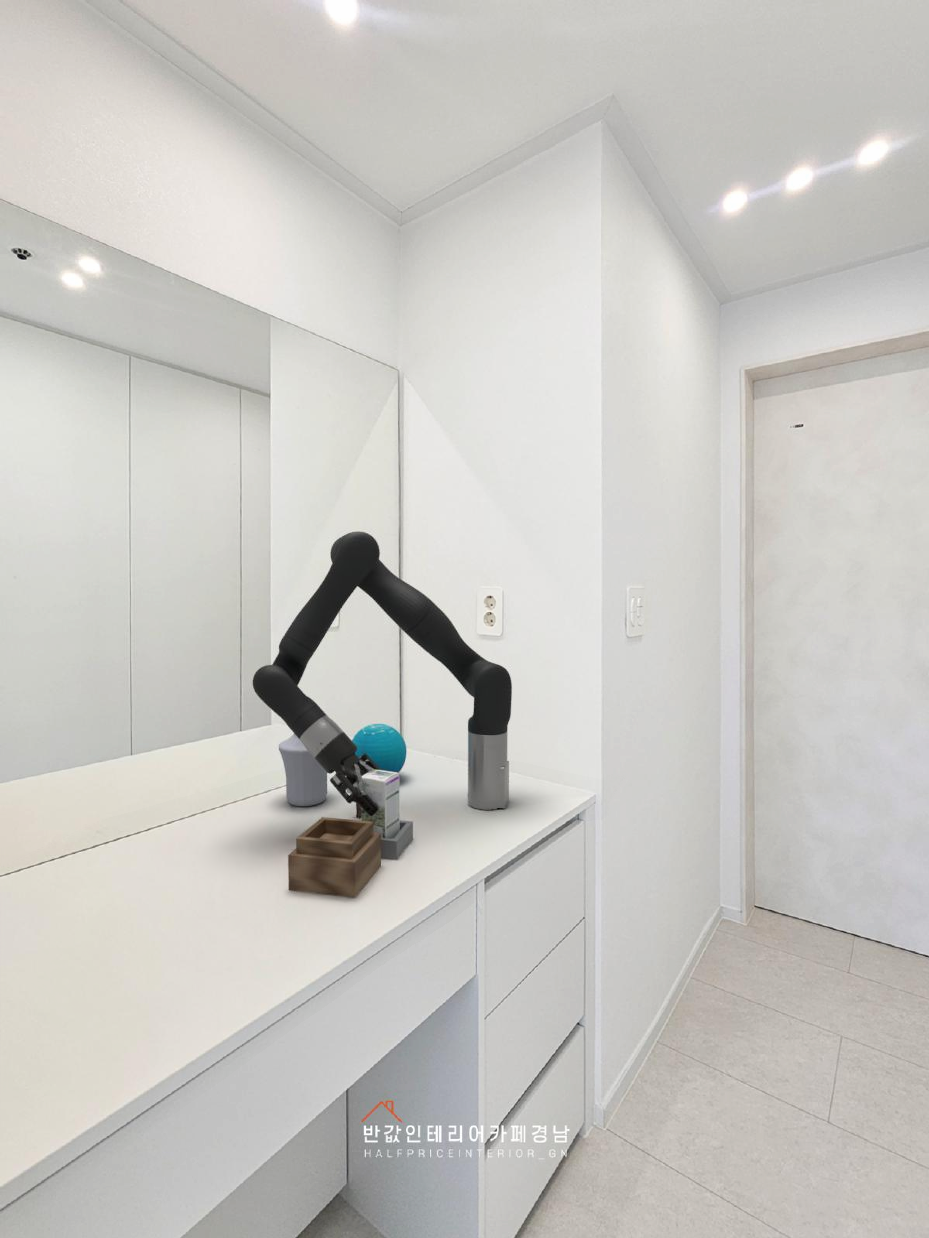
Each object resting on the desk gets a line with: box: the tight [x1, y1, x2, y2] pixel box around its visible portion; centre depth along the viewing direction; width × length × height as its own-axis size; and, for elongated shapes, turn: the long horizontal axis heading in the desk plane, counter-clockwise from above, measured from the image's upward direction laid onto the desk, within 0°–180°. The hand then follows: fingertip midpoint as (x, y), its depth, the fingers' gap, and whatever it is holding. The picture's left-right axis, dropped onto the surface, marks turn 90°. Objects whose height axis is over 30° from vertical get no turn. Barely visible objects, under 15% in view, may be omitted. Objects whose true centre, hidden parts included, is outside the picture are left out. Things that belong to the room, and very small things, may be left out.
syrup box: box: [360, 769, 401, 839], centre depth 123 cm, size 6×6×14 cm
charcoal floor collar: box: [381, 819, 414, 860], centre depth 123 cm, size 10×10×4 cm
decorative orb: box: [351, 723, 407, 774], centre depth 163 cm, size 15×15×15 cm
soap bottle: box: [278, 733, 328, 807], centre depth 148 cm, size 13×13×25 cm
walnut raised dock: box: [287, 816, 382, 899], centre depth 110 cm, size 12×12×8 cm
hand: (383, 804), depth 122 cm, fingers open, 8 cm apart
